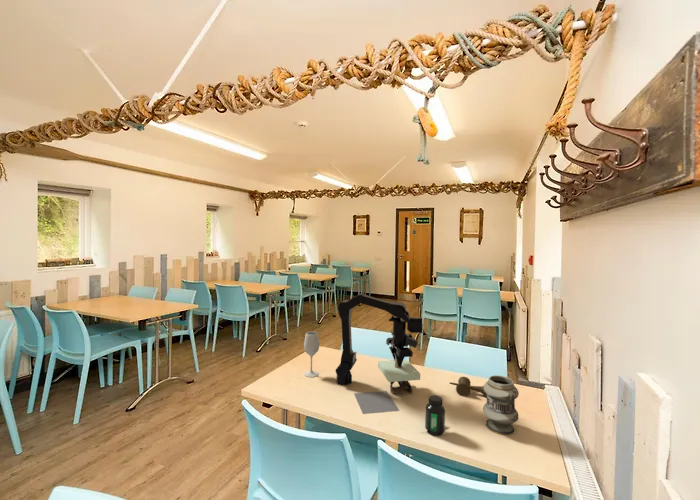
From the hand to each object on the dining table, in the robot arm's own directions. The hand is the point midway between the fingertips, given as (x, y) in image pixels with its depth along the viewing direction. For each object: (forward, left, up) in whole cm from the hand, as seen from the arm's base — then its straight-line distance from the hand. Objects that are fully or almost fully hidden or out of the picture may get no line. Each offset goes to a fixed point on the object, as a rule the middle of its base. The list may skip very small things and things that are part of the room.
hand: (398, 365), depth 149 cm
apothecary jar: (+28, -33, -12) cm, 45 cm away
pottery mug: (+1, -1, -12) cm, 12 cm away
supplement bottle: (+3, -31, -12) cm, 33 cm away
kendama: (+33, -7, -13) cm, 36 cm away
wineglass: (-37, +25, -12) cm, 46 cm away
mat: (-13, -9, -12) cm, 20 cm away
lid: (0, 0, -4) cm, 4 cm away
